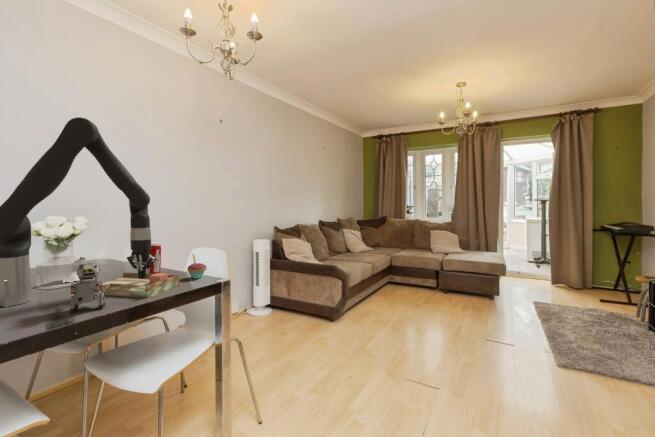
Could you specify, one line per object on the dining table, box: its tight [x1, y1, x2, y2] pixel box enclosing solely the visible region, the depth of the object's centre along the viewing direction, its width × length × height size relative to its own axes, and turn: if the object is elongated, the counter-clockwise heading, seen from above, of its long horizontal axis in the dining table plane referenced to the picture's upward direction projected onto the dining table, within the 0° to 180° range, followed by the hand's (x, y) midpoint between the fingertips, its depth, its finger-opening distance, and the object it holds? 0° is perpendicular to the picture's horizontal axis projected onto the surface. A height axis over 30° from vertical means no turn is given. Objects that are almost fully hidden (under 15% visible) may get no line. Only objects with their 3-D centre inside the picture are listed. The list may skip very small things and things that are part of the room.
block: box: [149, 272, 169, 284], centre depth 130 cm, size 5×5×4 cm
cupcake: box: [186, 252, 208, 280], centre depth 147 cm, size 9×8×12 cm
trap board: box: [101, 271, 180, 299], centre depth 129 cm, size 18×28×4 cm, turn 79°
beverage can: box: [146, 243, 162, 274], centre depth 155 cm, size 6×6×15 cm
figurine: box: [69, 262, 106, 314], centre depth 107 cm, size 9×12×15 cm
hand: (142, 278), depth 131 cm, fingers closed
